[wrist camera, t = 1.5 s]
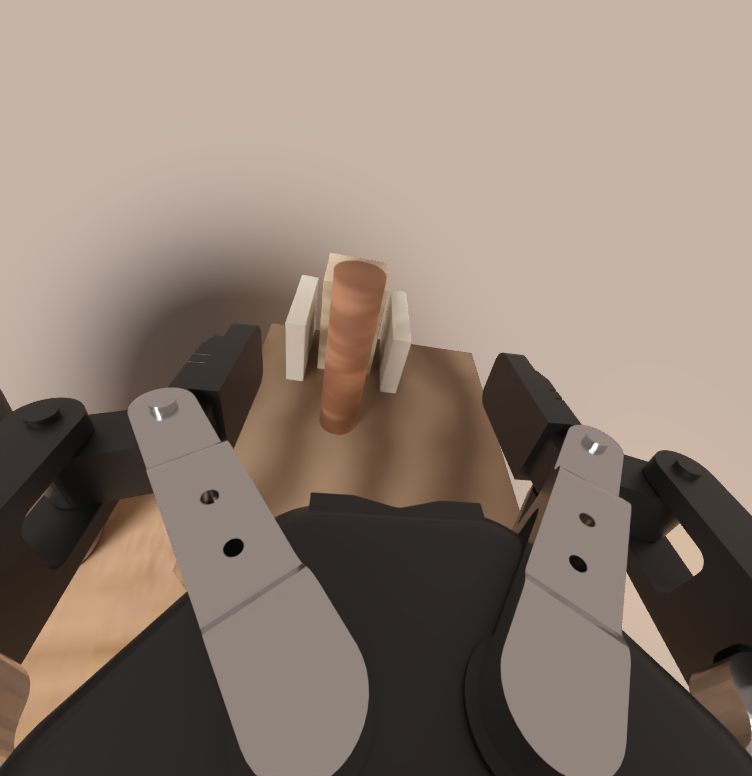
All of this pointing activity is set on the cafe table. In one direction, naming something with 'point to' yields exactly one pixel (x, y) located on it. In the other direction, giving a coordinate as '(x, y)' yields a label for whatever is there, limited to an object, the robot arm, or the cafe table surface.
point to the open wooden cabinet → (376, 437)
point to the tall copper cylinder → (348, 335)
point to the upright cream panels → (303, 328)
